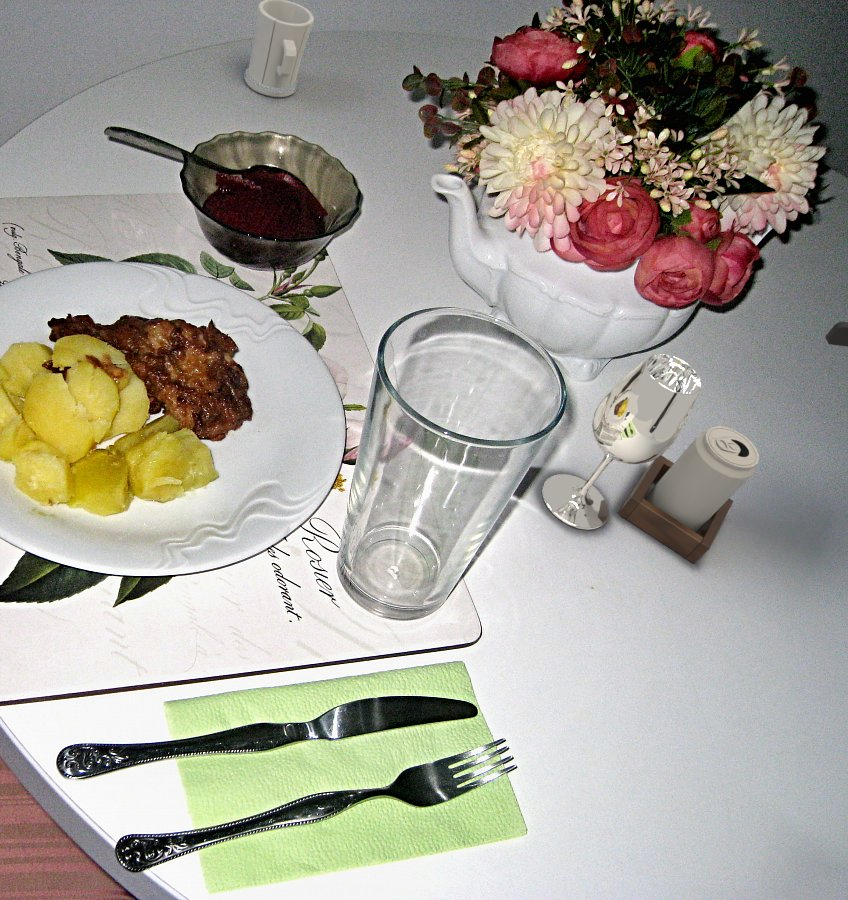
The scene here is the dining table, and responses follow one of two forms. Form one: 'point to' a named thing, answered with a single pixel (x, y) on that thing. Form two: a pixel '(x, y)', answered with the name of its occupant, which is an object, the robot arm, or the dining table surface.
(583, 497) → the wineglass
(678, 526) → the frame
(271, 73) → the cup
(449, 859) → the dining table surface
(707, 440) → the beverage can
